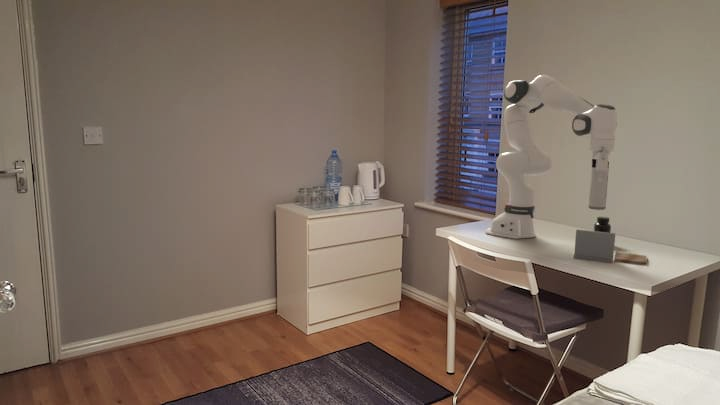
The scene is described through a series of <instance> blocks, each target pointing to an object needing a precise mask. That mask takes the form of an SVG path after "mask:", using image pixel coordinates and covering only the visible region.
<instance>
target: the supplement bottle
mask: <svg viewBox="0 0 720 405" xmlns="http://www.w3.org/2000/svg"><path fill="white" fill-rule="evenodd" d="M611 230H612V226H611V224H610V217H608V216H597V218H596V222H595V223H594V224H593V231H597V232H607V233H612V232H611Z"/></svg>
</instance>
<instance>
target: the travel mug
mask: <svg viewBox="0 0 720 405" xmlns="http://www.w3.org/2000/svg"><path fill="white" fill-rule="evenodd" d="M596 160H597V159H591V171H590V184H589V194H588V195H589V196H588V197H589V198H588V209H590V210H595V211H596V210H597V211H600V210H601V211H603V210H606V208H607V194H608V183H609V170H610V169H609V168H610V166H609V165H610V161H609V160H608V170H607V172H604V175H603V180H602V182H601V183H600V182H597V177H598V172H597V170H596V169H595V167H596Z"/></svg>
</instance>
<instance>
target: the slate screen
mask: <svg viewBox="0 0 720 405" xmlns="http://www.w3.org/2000/svg"><path fill="white" fill-rule="evenodd" d="M615 242H616V233H614V232H611V233H607V232H597V231H594V230H588V229H587V230H586V229H578V228H577V229H576V231H575V242H574V243H575V245H574V254H573V259H576V260H585V261H591V262H601V263H606V264H607V263H608V264H613V262H614V252H615Z"/></svg>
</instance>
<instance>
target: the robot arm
mask: <svg viewBox="0 0 720 405" xmlns="http://www.w3.org/2000/svg"><path fill="white" fill-rule="evenodd" d="M503 93H504V94H503V95H504V96H503V97H504V99H505V100H506V102H508V103H510V105H508V106H507V107H506V108H505V109H504V116H503V117H504V118H503V119H504V120H503V121H504V129H505V135H506V142H507V143H508V146H510V147H511V148H514V149H515V150H517V151H508V152H503V153H500V154H499V155H498V157H497V159H496V160H495V161H496V162H495V166H496V167H495V168H496V170H497V172H498V173H499V174H500V175H502V176H503V177H504V179H505V180H506V183H507V184H508V185H507V186H508V189H509V192H508V193H509V196H508V197H509V198H508V199H509V201H508V202H509V203H508V202H507V203H506V204H505V205H504V207H503V209H504V211H503V212H502V213H501V214H499V215H497V216H496V217H495V218H493V220H492V221H491V225H490V227H488V228H486V230H485V233H486V235H487V234H488V235H491V236H497V237H502V238H503V237H504V238H510V239H516V240H517V239H529V238H534V237H536V232H535V224H534V218H535V215H536V214H535V213H536V212H535V211H536V208H535V193H536V191H535V188H534V187H533V186H532V185H531V184H529V183H527V182H526V181H525V177H526V176H541V175H546V174H548V173H549V172H550V171H551V169H552V168H553V160H552V158H551V155H550V154H549V153H547V152H546V151H544V150H542V149H541V147H539V146H538V144H537V143H536V141H535V140H534V138H533V134H532V129H531V126H530V122H529V114H534V113H535V112H536V111H538V110H540V109H542V108H543V107H547V108H548V109H550V110H552V111H557V112H558V111H559V112H567V113H574V114H576V116H574V117H573V119H572V122H571V123H572V124H571V128H572V132H573V133H574V135H576V136H577V137H586V138H587V137H588V138H589V137H590V139H589V140H590V141H589V148H588V149H589V151H592V156H591V157H592V159H597V160H596V167H595V169H596V170H597V172H598V177H597V182H600V183H601V182H602V180H603V175H604V172H607V170H609V169H608V161H609V156H610V155H611V152H614V151H615V140H616V137H615V132H616V130H617V124H618V123H617V120H618V119H617V109H616V108H615V107H614V106H613V105H610V104H601V103H600V104H599V103H598V104H596V105H593V104H592V103H590V102H589V101H587V100H586V99H584V98H582V97H581V96H579V95H577V94H576V93H574V92H573V91H572V90H570V89H568V88H567V87H566V86H564V85H563V83H560V81H558V80H557V79H555V78H553V77H552V76H550V75H547V74H541V75H540V74H539V75H538V76H537V77H535V78H534V80H532V81H531V82H528V81H527V80H512V81H510V82H508V84H507V85H506V86H505V88H504V91H503ZM592 159H591V160H592Z"/></svg>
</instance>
